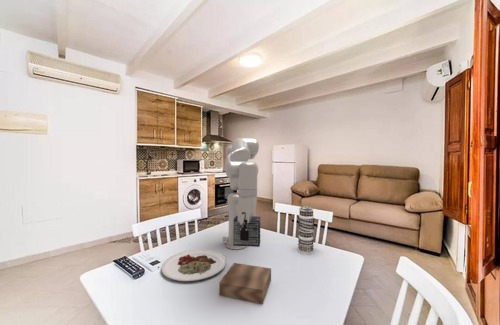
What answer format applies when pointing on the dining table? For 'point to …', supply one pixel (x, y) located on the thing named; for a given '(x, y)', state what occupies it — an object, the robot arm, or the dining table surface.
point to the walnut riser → (246, 282)
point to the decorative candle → (306, 230)
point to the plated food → (193, 265)
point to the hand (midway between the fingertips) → (247, 236)
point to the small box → (253, 233)
